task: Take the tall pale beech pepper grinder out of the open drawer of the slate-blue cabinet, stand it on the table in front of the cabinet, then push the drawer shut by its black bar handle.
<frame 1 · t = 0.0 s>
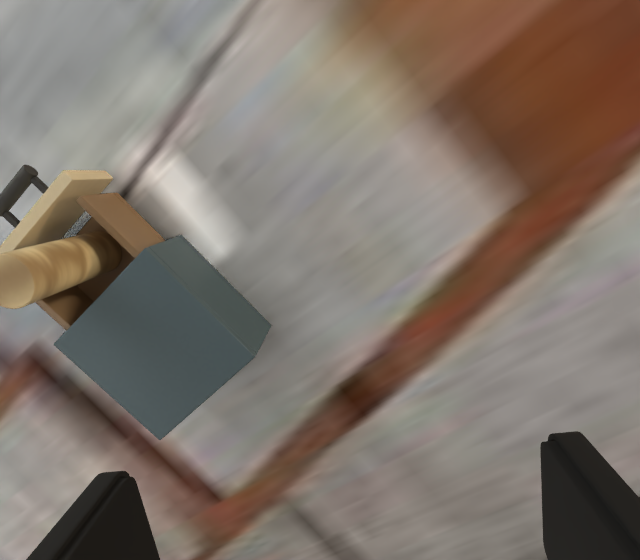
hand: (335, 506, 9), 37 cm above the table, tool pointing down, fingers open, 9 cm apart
grinder: (101, 251, 46), point 2 cm above the table, touching drawer
drawer: (81, 248, 43), point 4 cm above the table, slide at 9.0 cm, touching grinder
cabinet: (186, 320, 49), on the table
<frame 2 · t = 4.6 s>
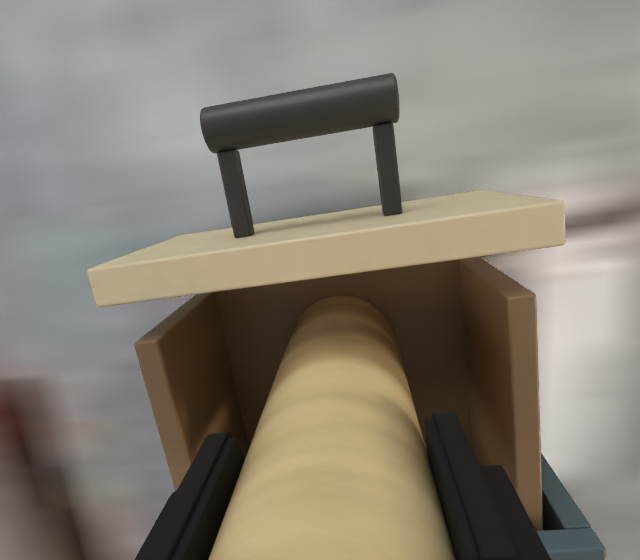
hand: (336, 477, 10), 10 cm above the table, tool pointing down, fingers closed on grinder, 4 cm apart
grinder: (342, 344, 18), point 2 cm above the table, touching drawer, gripper
drawer: (337, 343, 16), point 4 cm above the table, slide at 9.0 cm, touching grinder
cabinet: (373, 525, 23), on the table
when the fingers open (8 cm above the table, at t = 12.2 s): grinder stays where it is, on the table.
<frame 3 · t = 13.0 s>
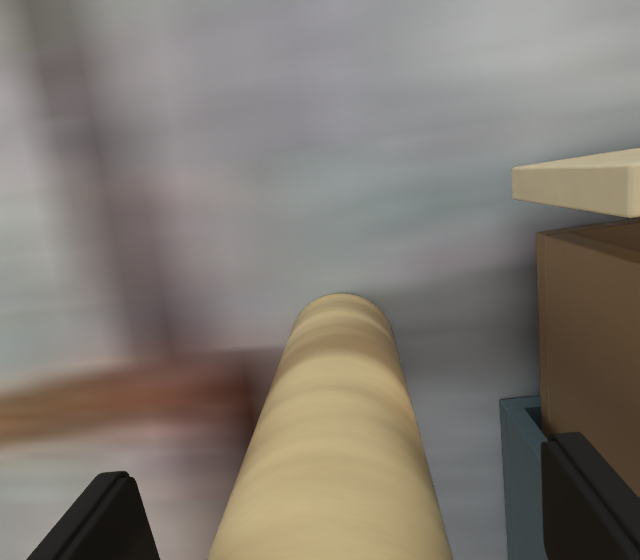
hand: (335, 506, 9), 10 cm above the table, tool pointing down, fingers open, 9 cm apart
grinder: (341, 341, 19), on the table
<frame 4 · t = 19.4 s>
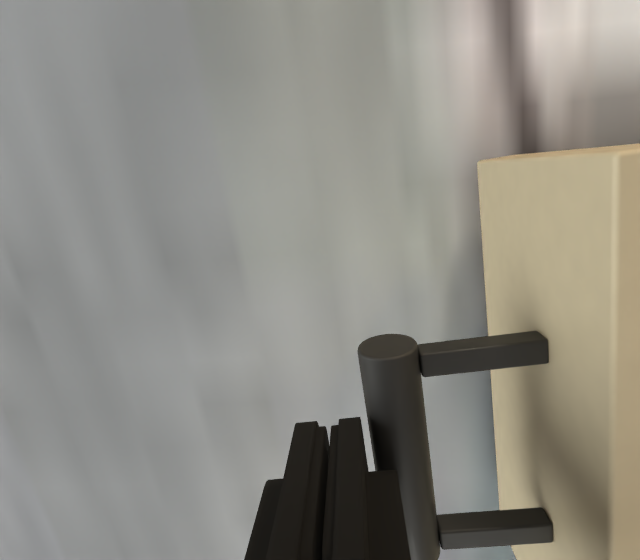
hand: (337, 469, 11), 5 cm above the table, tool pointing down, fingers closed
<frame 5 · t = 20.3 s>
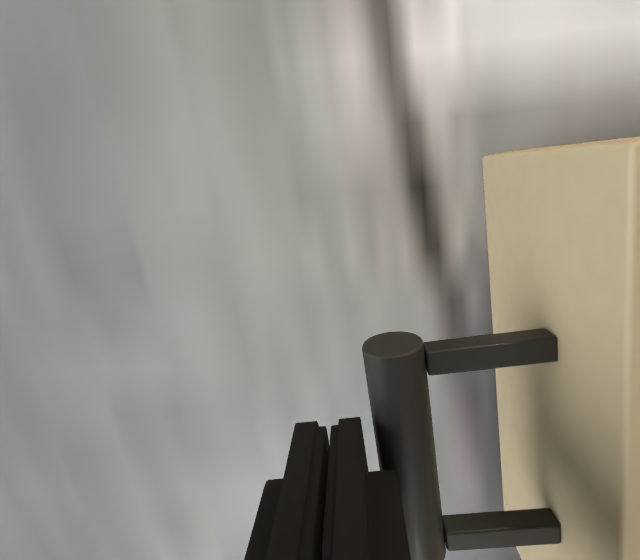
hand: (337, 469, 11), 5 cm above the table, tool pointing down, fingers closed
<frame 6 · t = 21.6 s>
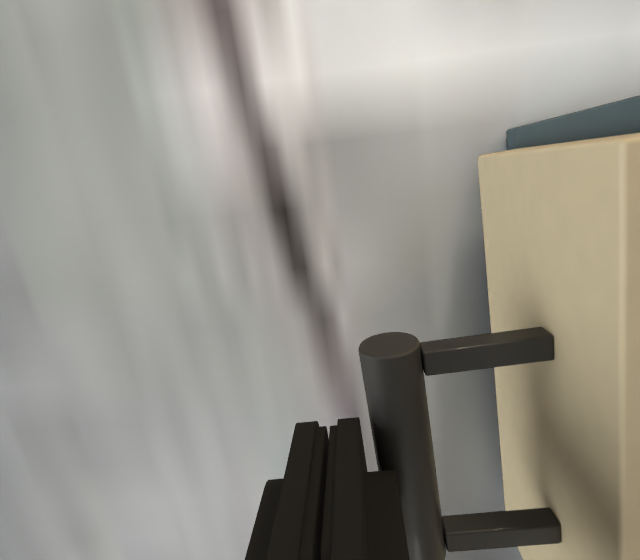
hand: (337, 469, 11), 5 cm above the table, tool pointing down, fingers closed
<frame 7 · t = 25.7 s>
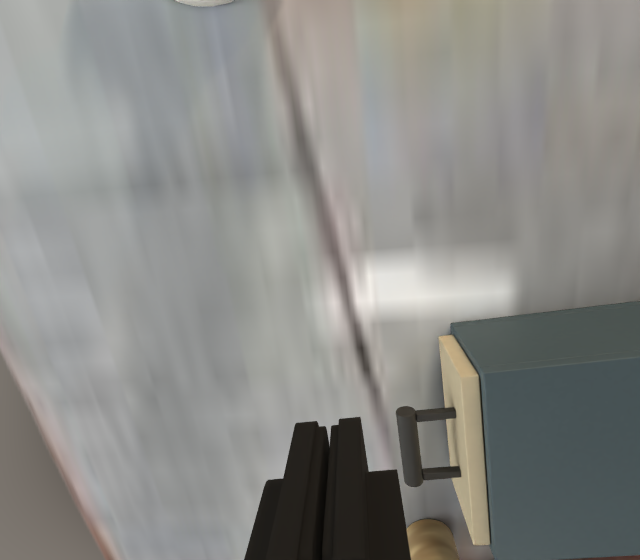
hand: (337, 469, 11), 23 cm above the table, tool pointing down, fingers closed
grinder: (428, 538, 39), on the table
drawer: (518, 429, 31), point 4 cm above the table, slide at 0.0 cm, touching cabinet
cabinet: (546, 394, 34), on the table
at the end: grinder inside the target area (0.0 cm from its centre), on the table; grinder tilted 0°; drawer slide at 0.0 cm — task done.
